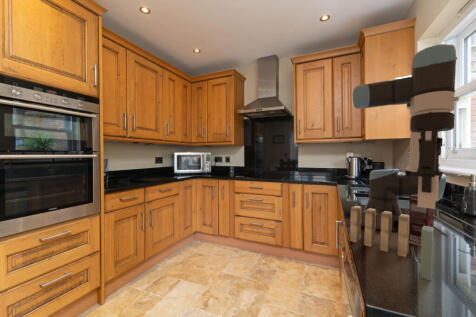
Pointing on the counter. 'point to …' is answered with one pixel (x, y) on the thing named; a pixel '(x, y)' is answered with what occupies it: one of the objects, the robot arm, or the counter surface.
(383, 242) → the birch domino
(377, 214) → the perforated stone tool
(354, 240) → the birch domino
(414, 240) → the supplement box
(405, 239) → the birch domino
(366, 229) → the birch domino
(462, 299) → the counter surface
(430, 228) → the grey-green domino
